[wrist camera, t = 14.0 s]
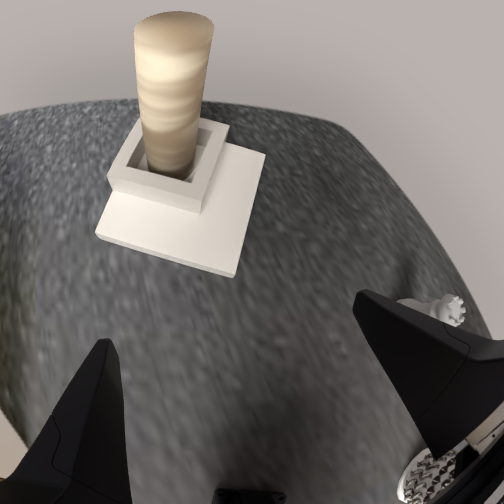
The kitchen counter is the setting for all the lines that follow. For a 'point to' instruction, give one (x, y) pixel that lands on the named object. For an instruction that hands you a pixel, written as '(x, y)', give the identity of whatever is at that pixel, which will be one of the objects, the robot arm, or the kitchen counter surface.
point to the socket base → (184, 202)
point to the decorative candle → (426, 477)
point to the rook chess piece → (440, 308)
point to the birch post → (171, 87)
